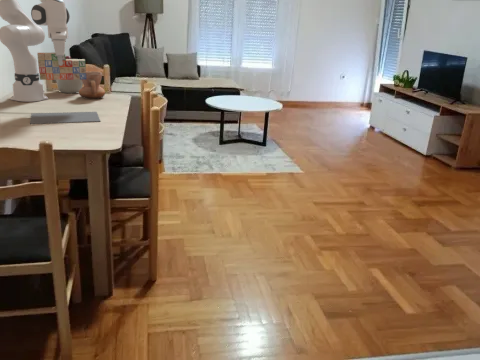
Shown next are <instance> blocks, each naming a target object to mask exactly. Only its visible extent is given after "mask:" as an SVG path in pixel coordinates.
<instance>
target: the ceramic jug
mask: <svg viewBox="0 0 480 360" xmlns="http://www.w3.org/2000/svg"><path fill="white" fill-rule="evenodd" d="M102 77H103V73H102V72H101V71H90V70H89V71H86V79H81V80H82V82H83V86H82V88H81V89H80V90H79V92H78V95H79V96H80V97H81V98H84V99H89V100H96V99H100V98H103V97H104V96H105V94H106V90H105V89H104V88H103V87H101V86H100V84H101V82H102Z"/></svg>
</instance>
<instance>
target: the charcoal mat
mask: <svg viewBox="0 0 480 360" xmlns="http://www.w3.org/2000/svg"><path fill="white" fill-rule="evenodd" d="M100 122H101V119H100V117H99V115H98V112H97V111H72V112H71V111H69V112H31V113H30V120H29V124H30V125H40V124H41V125H45V124H73V123H76V124H77V123H100Z"/></svg>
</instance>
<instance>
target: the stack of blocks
mask: <svg viewBox="0 0 480 360" xmlns="http://www.w3.org/2000/svg"><path fill="white" fill-rule="evenodd" d="M65 57H66V53H64V56H63V57H62V58H63V59H62V63H63V65H59V63H58V56H56V54H55V52H37V67H38V73H39V81H41V80H42V81H45V80H46V81H47V80H48V81H51V80H52V81H53V80H54V81H56V80H73V79H86V72H87V66H86V65H87V64H86V59H85V58H82V59H80V58H79V59H78V58H71V59H66V58H65Z"/></svg>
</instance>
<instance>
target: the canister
mask: <svg viewBox="0 0 480 360" xmlns="http://www.w3.org/2000/svg"><path fill="white" fill-rule="evenodd" d="M65 58H66V59H72V57H71V56H70V55H65ZM55 81H56V85H57V89H58V91H59V92H61V93H65V94H77V93H78V94H79V90H80V89H81V88H83V87H84V84H83V82H82V80H81V79H73V80H55Z"/></svg>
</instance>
